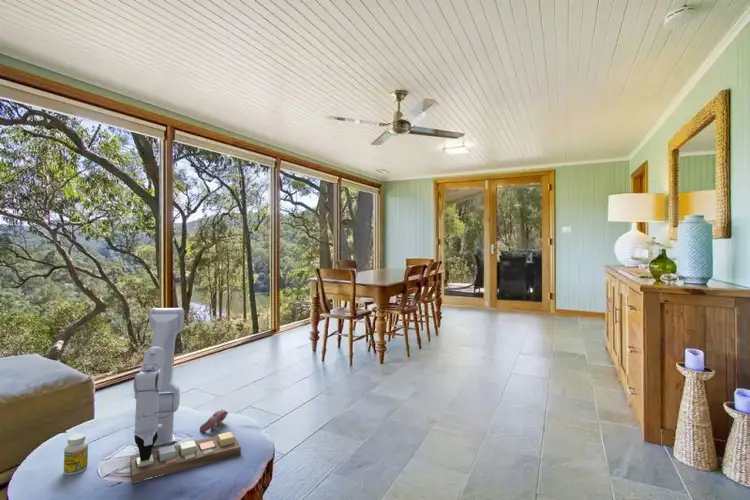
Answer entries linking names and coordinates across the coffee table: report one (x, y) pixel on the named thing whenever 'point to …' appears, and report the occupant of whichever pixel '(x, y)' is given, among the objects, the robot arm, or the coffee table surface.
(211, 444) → the terracotta key
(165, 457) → the bluegrey key
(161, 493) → the coffee table surface
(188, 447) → the sage key
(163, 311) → the robot arm
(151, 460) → the offwhite key
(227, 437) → the ochre key
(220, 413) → the video game controller
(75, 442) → the supplement bottle
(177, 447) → the keypad
